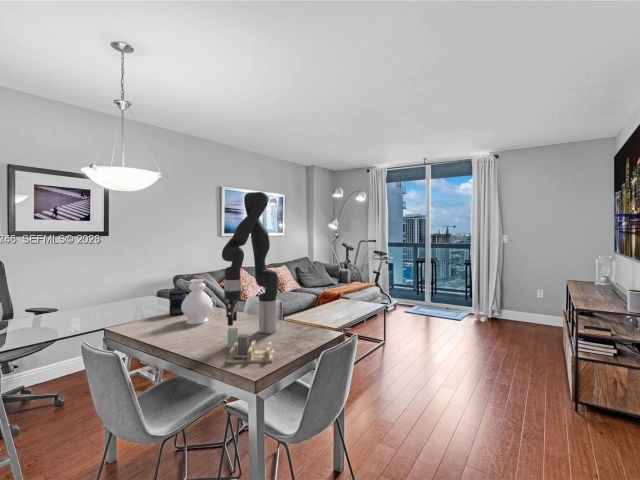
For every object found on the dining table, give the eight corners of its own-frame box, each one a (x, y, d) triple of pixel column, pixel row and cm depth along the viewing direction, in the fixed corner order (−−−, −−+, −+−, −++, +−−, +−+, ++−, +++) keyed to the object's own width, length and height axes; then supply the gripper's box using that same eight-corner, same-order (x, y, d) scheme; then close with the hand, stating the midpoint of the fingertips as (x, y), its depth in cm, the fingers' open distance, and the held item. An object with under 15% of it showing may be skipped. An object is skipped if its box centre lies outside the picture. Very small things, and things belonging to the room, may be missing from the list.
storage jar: (187, 314, 216) (186, 291, 216) (170, 316, 211) (170, 293, 210) (184, 311, 225) (184, 289, 224) (168, 313, 219) (167, 290, 219)
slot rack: (233, 350, 155) (233, 340, 155) (275, 349, 156) (275, 339, 155) (225, 363, 140) (225, 352, 140) (271, 362, 141) (271, 352, 140)
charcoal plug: (239, 352, 149) (239, 334, 149) (248, 352, 150) (248, 334, 149) (237, 355, 145) (237, 337, 145) (247, 355, 146) (247, 337, 145)
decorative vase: (188, 317, 211) (188, 277, 210) (216, 317, 211) (216, 277, 210) (176, 325, 193) (175, 282, 192) (207, 325, 193) (207, 282, 192)
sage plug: (229, 344, 162) (229, 328, 162) (237, 344, 162) (237, 328, 162) (227, 347, 158) (227, 330, 158) (236, 347, 158) (236, 330, 158)
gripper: (227, 286, 166) (227, 319, 166) (220, 291, 152) (220, 327, 152) (243, 286, 166) (243, 319, 167) (237, 291, 152) (237, 327, 153)
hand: (232, 323), depth 159 cm, fingers open, 8 cm apart
